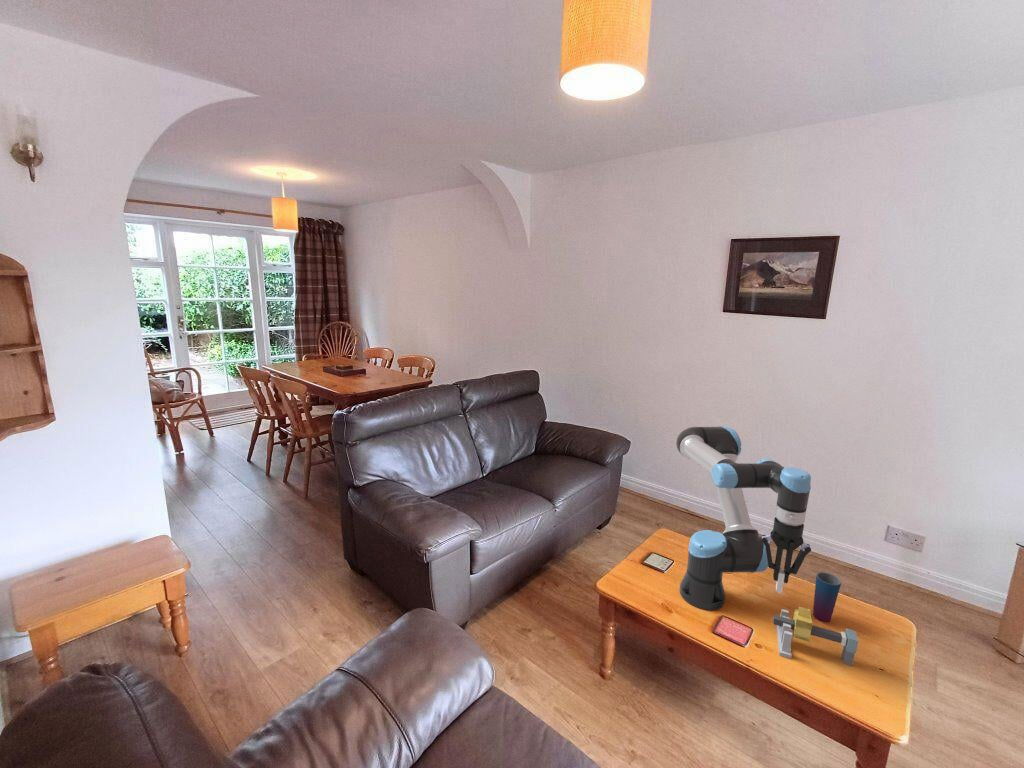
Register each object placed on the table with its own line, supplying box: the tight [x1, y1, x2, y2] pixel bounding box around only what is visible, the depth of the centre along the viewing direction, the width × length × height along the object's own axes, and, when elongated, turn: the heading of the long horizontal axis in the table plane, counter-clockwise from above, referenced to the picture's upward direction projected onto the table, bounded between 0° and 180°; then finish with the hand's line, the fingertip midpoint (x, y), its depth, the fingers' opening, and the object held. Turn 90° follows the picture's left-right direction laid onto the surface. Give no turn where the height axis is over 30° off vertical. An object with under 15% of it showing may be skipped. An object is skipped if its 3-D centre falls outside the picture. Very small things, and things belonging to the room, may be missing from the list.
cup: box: [812, 571, 842, 624], centre depth 152 cm, size 7×7×15 cm
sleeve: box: [792, 606, 813, 643], centre depth 139 cm, size 4×5×9 cm
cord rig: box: [772, 608, 859, 666], centre depth 139 cm, size 21×13×9 cm, turn 64°
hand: (778, 590), depth 140 cm, fingers closed
